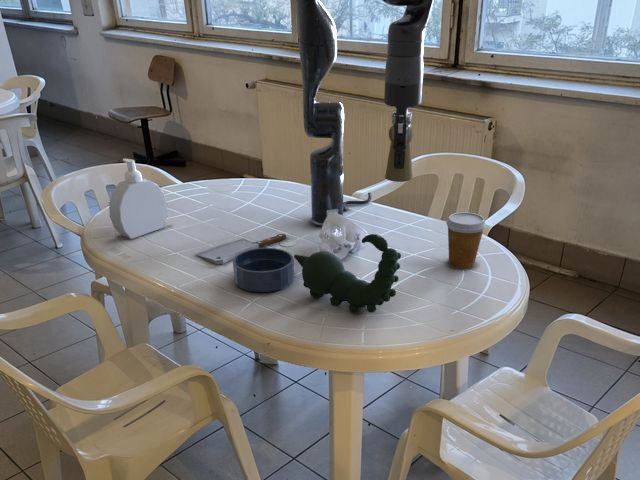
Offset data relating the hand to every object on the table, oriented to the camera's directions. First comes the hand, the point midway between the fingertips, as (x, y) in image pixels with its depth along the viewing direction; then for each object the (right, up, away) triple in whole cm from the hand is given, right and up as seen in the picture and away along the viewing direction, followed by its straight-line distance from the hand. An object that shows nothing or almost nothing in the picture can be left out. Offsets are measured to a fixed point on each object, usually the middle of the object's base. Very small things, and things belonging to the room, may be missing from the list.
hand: (399, 164), depth 133 cm
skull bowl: (-12, -15, +29) cm, 35 cm away
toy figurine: (-12, -30, +5) cm, 33 cm away
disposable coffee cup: (+18, -18, +23) cm, 34 cm away
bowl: (-31, -23, +15) cm, 41 cm away
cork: (0, -2, +2) cm, 3 cm away
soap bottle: (-69, -6, +42) cm, 81 cm away
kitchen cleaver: (-38, -13, +32) cm, 51 cm away
